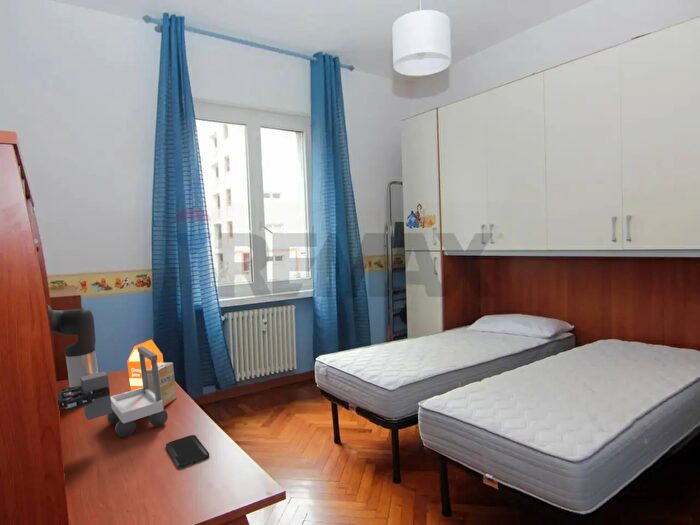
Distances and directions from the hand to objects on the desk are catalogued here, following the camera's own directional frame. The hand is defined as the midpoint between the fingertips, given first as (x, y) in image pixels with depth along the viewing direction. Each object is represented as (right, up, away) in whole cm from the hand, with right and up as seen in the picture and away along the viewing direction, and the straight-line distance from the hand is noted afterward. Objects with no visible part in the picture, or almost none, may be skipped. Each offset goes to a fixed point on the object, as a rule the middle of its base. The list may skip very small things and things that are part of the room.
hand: (106, 388), depth 122 cm
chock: (-2, -7, -1) cm, 7 cm away
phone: (+26, -15, -8) cm, 31 cm away
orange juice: (-3, -13, +33) cm, 35 cm away
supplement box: (+5, -13, +26) cm, 30 cm away
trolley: (+3, -14, +11) cm, 18 cm away
